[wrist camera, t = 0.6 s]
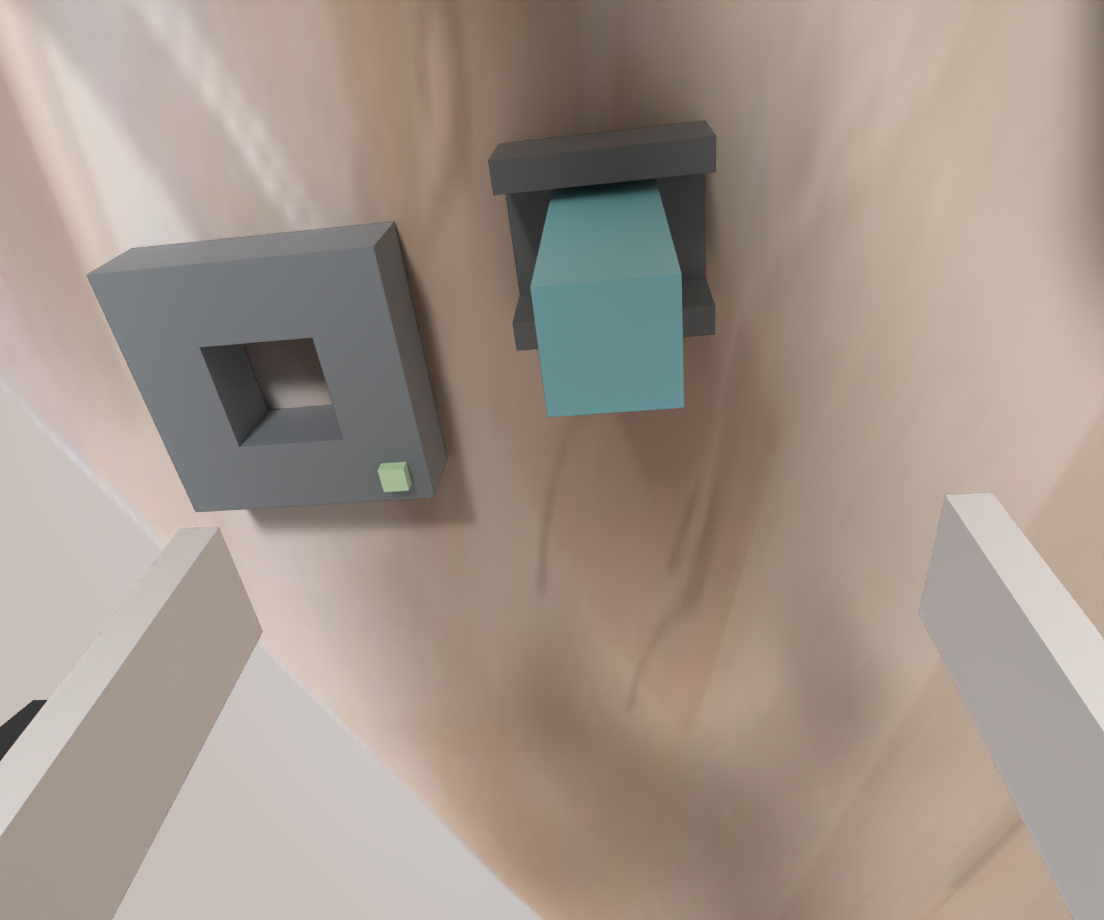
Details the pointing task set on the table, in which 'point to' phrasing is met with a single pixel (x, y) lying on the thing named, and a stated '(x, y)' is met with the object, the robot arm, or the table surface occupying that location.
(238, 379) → the port
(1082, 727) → the robot arm
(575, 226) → the plug
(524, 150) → the holster
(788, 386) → the table surface
